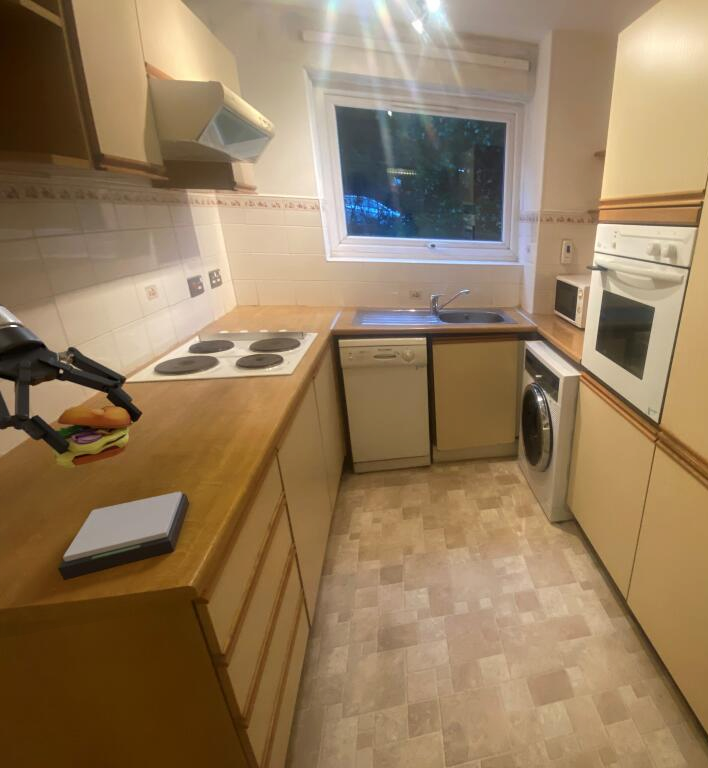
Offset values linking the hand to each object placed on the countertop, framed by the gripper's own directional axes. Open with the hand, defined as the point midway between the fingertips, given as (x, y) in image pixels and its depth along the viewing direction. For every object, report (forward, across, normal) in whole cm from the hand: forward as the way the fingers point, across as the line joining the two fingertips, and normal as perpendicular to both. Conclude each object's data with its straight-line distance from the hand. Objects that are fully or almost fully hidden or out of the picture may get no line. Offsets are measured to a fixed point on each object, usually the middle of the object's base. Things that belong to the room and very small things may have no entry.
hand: (104, 432), depth 75 cm
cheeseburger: (+1, 0, -5) cm, 5 cm away
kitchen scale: (+17, +5, -7) cm, 19 cm away
